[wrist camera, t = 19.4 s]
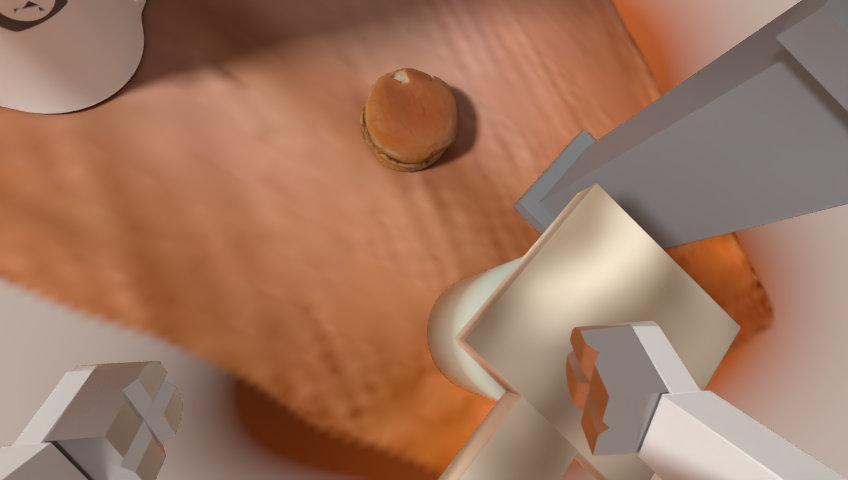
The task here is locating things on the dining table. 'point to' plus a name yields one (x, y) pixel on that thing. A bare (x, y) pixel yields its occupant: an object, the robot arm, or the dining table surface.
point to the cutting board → (551, 331)
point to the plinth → (725, 139)
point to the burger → (409, 119)
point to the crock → (451, 319)
